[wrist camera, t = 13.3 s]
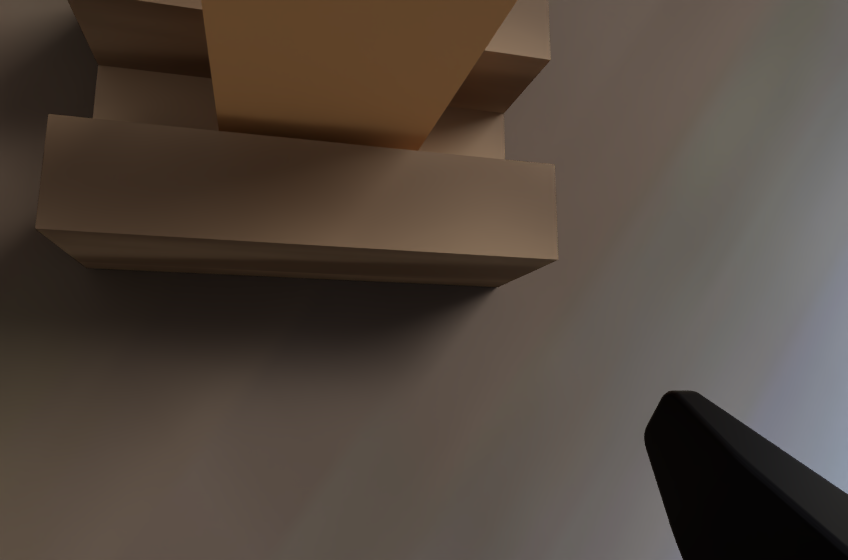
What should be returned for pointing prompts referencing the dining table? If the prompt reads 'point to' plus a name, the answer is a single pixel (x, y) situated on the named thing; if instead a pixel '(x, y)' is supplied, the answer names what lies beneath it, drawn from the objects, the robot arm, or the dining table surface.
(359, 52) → the rectangular block
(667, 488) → the robot arm
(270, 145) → the rack
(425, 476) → the dining table surface
